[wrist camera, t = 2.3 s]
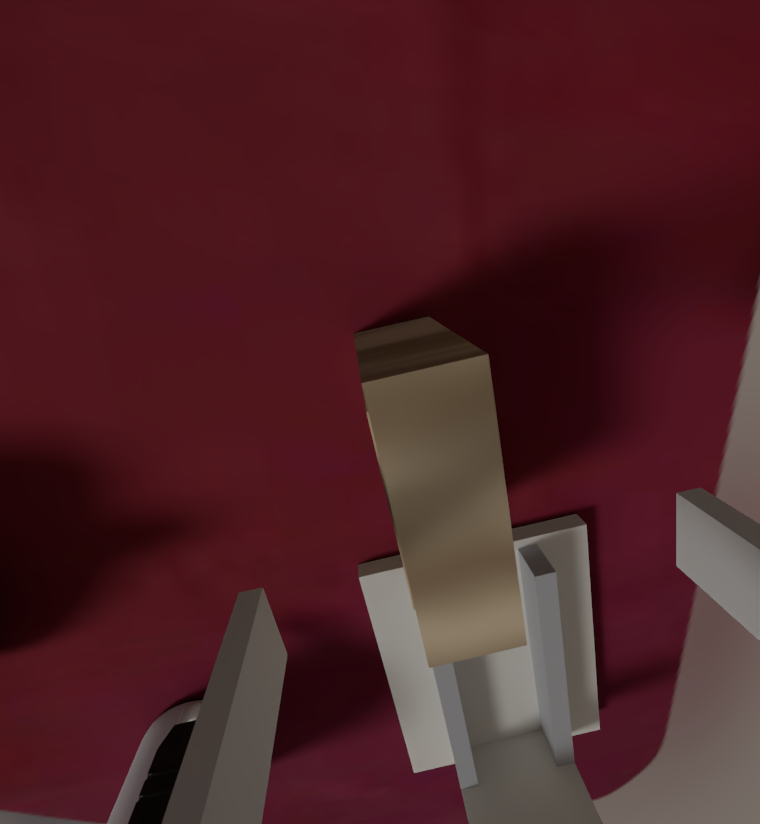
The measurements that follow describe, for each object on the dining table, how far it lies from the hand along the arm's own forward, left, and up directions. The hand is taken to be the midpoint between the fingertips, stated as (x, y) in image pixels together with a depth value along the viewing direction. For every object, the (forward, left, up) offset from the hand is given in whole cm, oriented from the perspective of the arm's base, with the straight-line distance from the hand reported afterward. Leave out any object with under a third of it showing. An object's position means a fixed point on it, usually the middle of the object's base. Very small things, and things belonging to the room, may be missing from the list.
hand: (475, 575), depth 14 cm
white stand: (+17, +2, -12) cm, 20 cm away
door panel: (0, 0, -12) cm, 12 cm away
